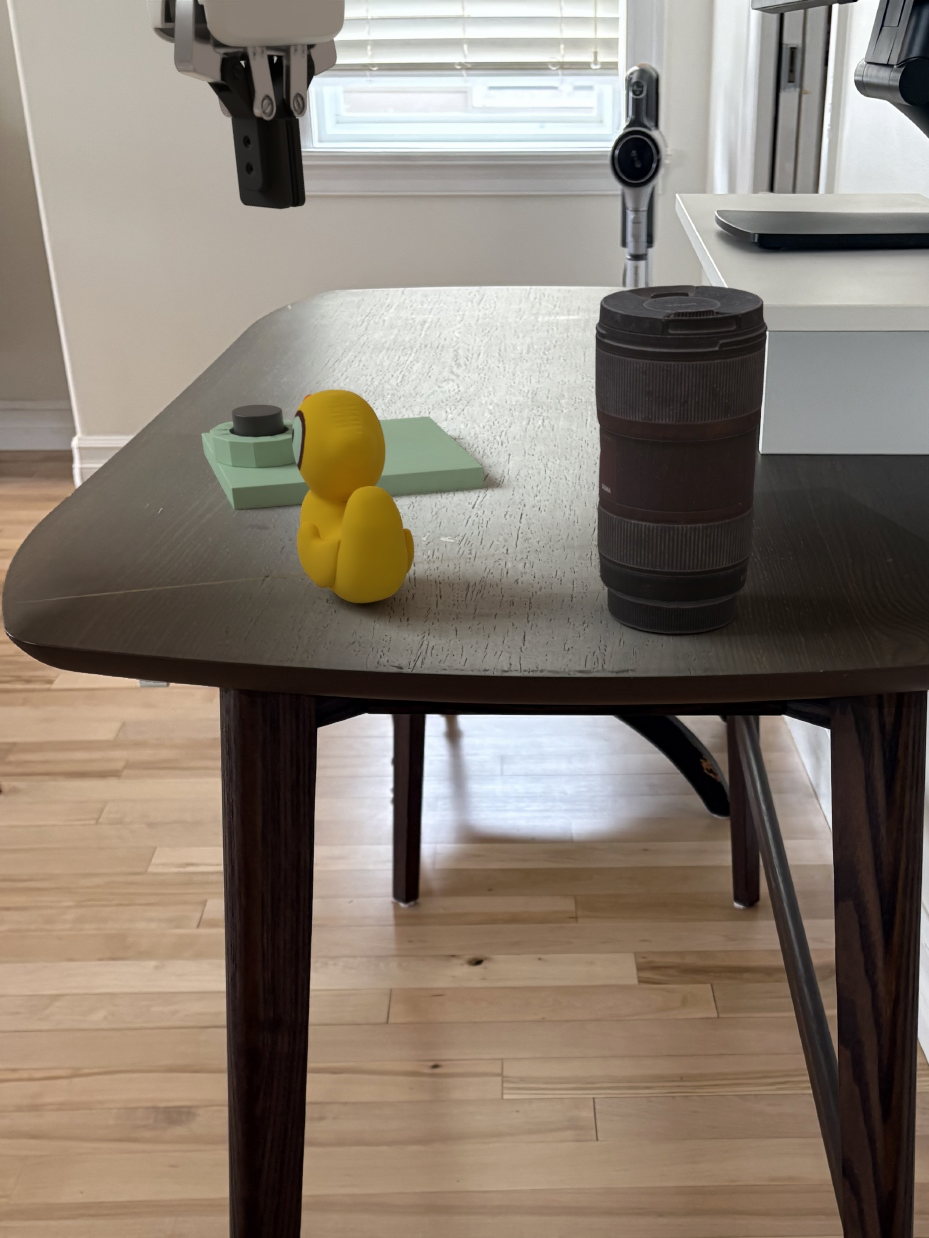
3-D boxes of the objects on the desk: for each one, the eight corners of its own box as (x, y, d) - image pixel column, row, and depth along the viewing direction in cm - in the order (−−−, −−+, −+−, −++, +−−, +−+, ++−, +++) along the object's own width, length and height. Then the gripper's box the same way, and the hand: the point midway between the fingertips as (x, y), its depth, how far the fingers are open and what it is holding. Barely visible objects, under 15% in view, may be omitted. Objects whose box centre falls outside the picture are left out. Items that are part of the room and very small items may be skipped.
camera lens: (572, 596, 81) (572, 287, 72) (711, 580, 83) (727, 279, 75) (624, 648, 75) (631, 318, 66) (773, 630, 77) (799, 308, 68)
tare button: (238, 443, 96) (235, 418, 95) (231, 431, 99) (228, 406, 98) (288, 440, 97) (286, 414, 96) (280, 428, 99) (277, 403, 99)
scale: (233, 511, 93) (227, 460, 91) (203, 454, 104) (197, 408, 102) (484, 489, 97) (482, 440, 96) (430, 437, 108) (428, 392, 106)
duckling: (277, 567, 85) (255, 376, 79) (369, 555, 86) (354, 367, 81) (337, 634, 76) (317, 425, 70) (437, 619, 78) (426, 414, 72)
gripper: (277, -229, 76) (311, 188, 87) (45, -263, 66) (117, 215, 76) (395, -236, 73) (416, 198, 84) (171, -273, 63) (227, 227, 73)
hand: (273, 205), depth 80 cm, fingers closed
